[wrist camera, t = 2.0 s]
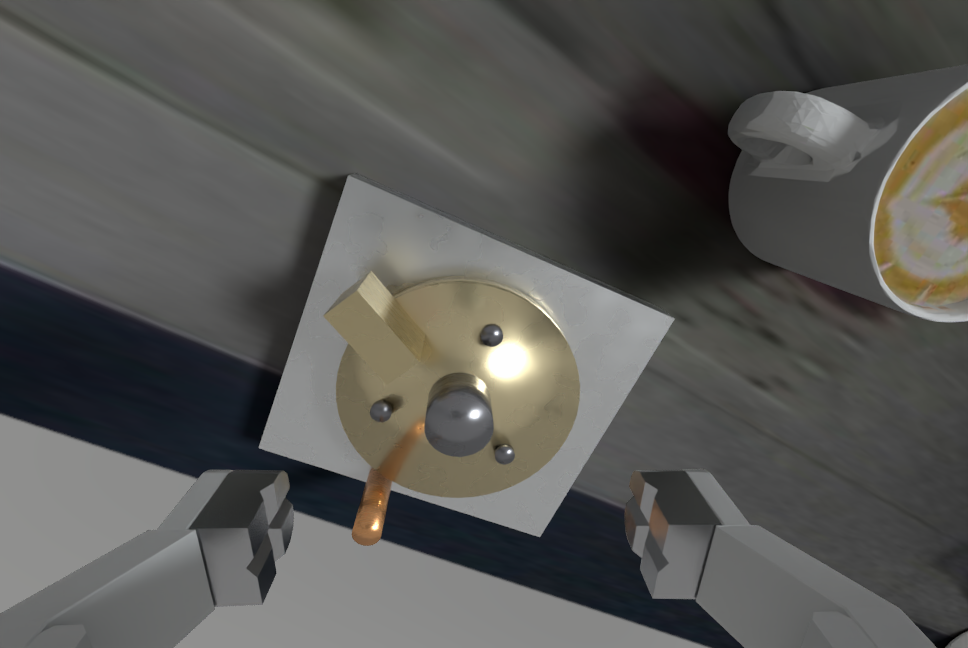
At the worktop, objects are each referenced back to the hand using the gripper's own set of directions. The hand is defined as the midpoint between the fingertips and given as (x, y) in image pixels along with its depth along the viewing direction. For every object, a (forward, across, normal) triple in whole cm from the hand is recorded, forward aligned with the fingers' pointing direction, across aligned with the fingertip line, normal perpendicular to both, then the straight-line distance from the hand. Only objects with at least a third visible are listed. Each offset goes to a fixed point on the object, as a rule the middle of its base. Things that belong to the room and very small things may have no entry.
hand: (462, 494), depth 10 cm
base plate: (+19, 0, +7) cm, 20 cm away
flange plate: (+17, +1, +6) cm, 18 cm away
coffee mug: (+20, -19, -7) cm, 28 cm away
